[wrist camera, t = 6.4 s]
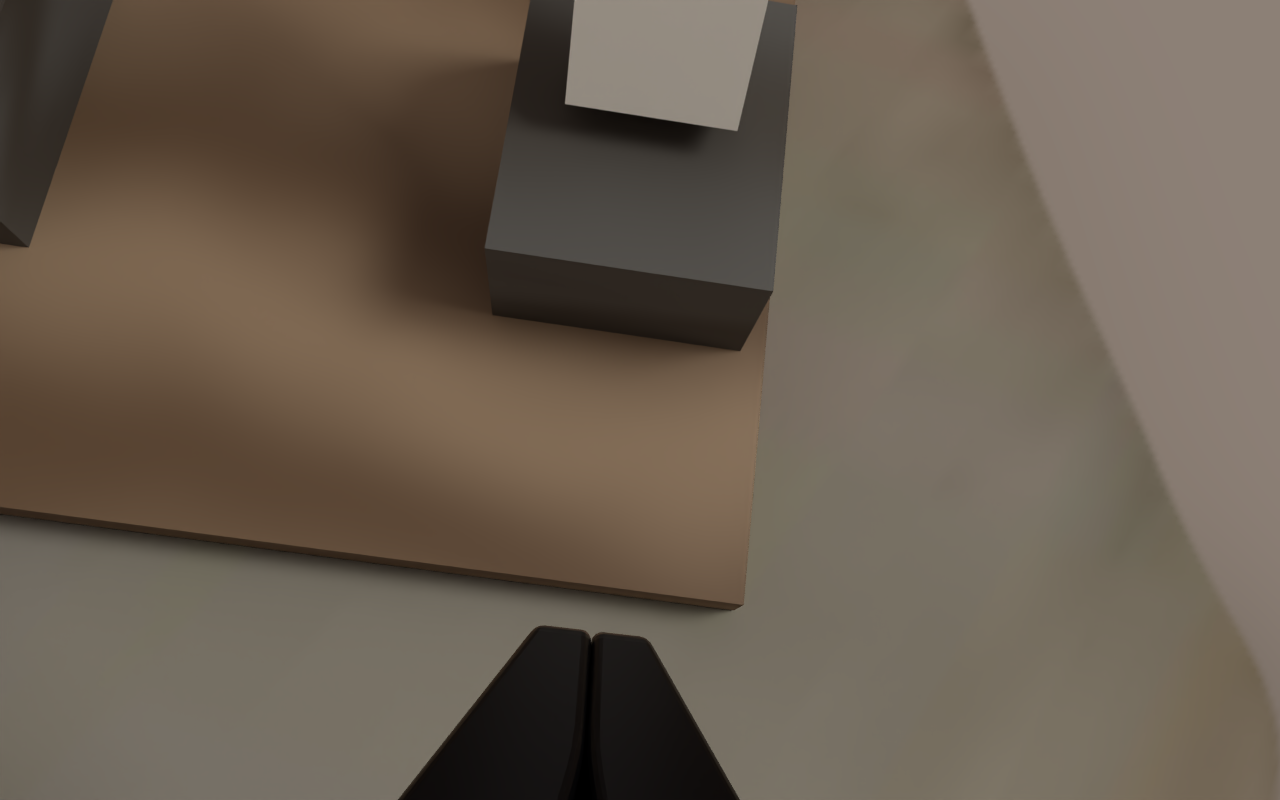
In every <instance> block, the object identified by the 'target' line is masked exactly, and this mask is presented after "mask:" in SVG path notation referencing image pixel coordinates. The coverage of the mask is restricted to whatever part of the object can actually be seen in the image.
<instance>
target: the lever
mask: <svg viewBox="0 0 1280 800" xmlns="http://www.w3.org/2000/svg"><path fill="white" fill-rule="evenodd" d="M767 4H768V0H574V11H573V21H572V32H571V43H570V54H569V65H568V76H567V87H566V98H565V104H568V105H575V106H581V107H587V108H594V109H600V110H606V111H613V112H619V113H625V114H632V115H638V116H644V117H651V118H657V119H664V120H670V121H676V122H683V123H689V124H695V125H702V126H708V127H714V128H721V129H727V130H733V131H738V126H739V122H740V118H741V114H742V109H743V105H744V101H745V97H746V93H747V88H748V84H749V80H750V76H751V71H752V67H753V63H754V59H755V55H756V50H757V46H758V42H759V38H760V33H761V29H762V25H763V21H764V17H765V12H766V8H767Z"/></svg>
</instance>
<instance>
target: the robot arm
mask: <svg viewBox="0 0 1280 800" xmlns="http://www.w3.org/2000/svg"><path fill="white" fill-rule="evenodd" d="M398 800H740V799H739V797H738V796H737V794H736V792H735V790H734V789H733V787H732V785H731V783H730V782H729V780H728V778H727V776H726V775H725V773H724V771H723V769H722V768H721V766H720V764H719V762H718V760H717V759H716V757H715V755H714V753H713V752H712V750H711V748H710V746H709V745H708V743H707V741H706V739H705V738H704V736H703V734H702V732H701V731H700V729H699V727H698V725H697V724H696V722H695V720H694V718H693V716H692V715H691V713H690V711H689V709H688V708H687V706H686V704H685V702H684V701H683V699H682V697H681V695H680V694H679V692H678V690H677V688H676V687H675V685H674V683H673V681H672V679H671V678H670V676H669V674H668V672H667V671H666V669H665V667H664V665H663V664H662V662H661V660H660V658H659V657H658V655H657V653H656V651H655V650H654V648H653V646H652V645H651V643H650V642H649V641H648V640H647V639H645V638H643V637H640V636H631V635H622V634H613V633H605V632H600V633H598V634H596V635H595V636H594V637H593V638H592V641H591V638H590V636H589V634H588V633H587V632H586V631H584V630H579V629H570V628H562V627H553V626H539V627H536V628H535V629H534V630H533V631H532V632H531V633H530V634H529V635H528V636H527V637H526V639H525V640H524V641H523V643H522V644H521V645H520V646H519V648H518V649H517V650H516V651H515V653H514V654H513V655H512V656H511V658H510V659H509V660H508V661H507V663H506V664H505V665H504V667H503V668H502V669H501V670H500V672H499V673H498V674H497V675H496V677H495V678H494V679H493V680H492V682H491V683H490V684H489V685H488V687H487V688H486V689H485V690H484V692H483V693H482V694H481V696H480V697H479V698H478V699H477V701H476V702H475V703H474V704H473V706H472V707H471V708H470V709H469V711H468V712H467V713H466V714H465V716H464V717H463V718H462V720H461V721H460V722H459V723H458V725H457V726H456V727H455V728H454V730H453V731H452V732H451V733H450V735H449V736H448V737H447V738H446V740H445V741H444V742H443V743H442V745H441V746H440V747H439V749H438V750H437V751H436V752H435V754H434V755H433V756H432V757H431V759H430V760H429V761H428V762H427V764H426V765H425V766H424V767H423V769H422V770H421V771H420V773H419V774H418V775H417V776H416V778H415V779H414V780H413V781H412V783H411V784H410V785H409V786H408V788H407V789H406V790H405V791H404V793H403V794H402V795H401V797H400V798H399V799H398Z"/></svg>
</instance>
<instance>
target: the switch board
mask: <svg viewBox="0 0 1280 800" xmlns="http://www.w3.org/2000/svg"><path fill="white" fill-rule="evenodd" d="M573 11H574V0H0V514H5V515H13V516H20V517H28V518H35V519H43V520H51V521H58V522H66V523H73V524H81V525H89V526H96V527H104V528H112V529H119V530H127V531H134V532H142V533H150V534H157V535H165V536H172V537H180V538H188V539H195V540H203V541H210V542H218V543H226V544H233V545H241V546H248V547H256V548H264V549H271V550H279V551H286V552H294V553H302V554H309V555H317V556H324V557H332V558H340V559H347V560H355V561H362V562H370V563H378V564H385V565H393V566H401V567H408V568H416V569H423V570H431V571H439V572H446V573H454V574H461V575H469V576H477V577H484V578H492V579H499V580H507V581H515V582H522V583H530V584H537V585H545V586H553V587H560V588H568V589H575V590H583V591H591V592H598V593H606V594H613V595H621V596H629V597H636V598H644V599H652V600H659V601H667V602H674V603H682V604H690V605H697V606H705V607H712V608H720V609H728V610H735V609H737V608H739V607H741V606H742V605H744V594H745V582H746V570H747V558H748V547H749V535H750V523H751V511H752V500H753V488H754V476H755V464H756V453H757V441H758V429H759V417H760V406H761V394H762V382H763V370H764V359H765V347H766V335H767V323H768V312H769V300H770V296H771V294H772V292H773V287H774V275H775V263H776V251H777V240H778V228H779V216H780V204H781V192H782V180H783V168H784V156H785V144H786V133H787V121H788V109H789V97H790V85H791V73H792V61H793V49H794V37H795V25H796V14H797V5H795V0H768V4H767V8H766V12H765V17H764V21H763V25H762V29H761V33H760V38H759V42H758V46H757V50H756V55H755V59H754V63H753V67H752V71H751V76H750V80H749V84H748V88H747V93H746V97H745V101H744V105H743V109H742V114H741V118H740V122H739V126H738V131H733V130H727V129H721V128H714V127H708V126H702V125H695V124H689V123H683V122H676V121H670V120H664V119H657V118H651V117H644V116H638V115H632V114H625V113H619V112H613V111H606V110H600V109H594V108H587V107H581V106H575V105H568V104H565V98H566V87H567V76H568V65H569V54H570V43H571V32H572V21H573Z"/></svg>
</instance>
